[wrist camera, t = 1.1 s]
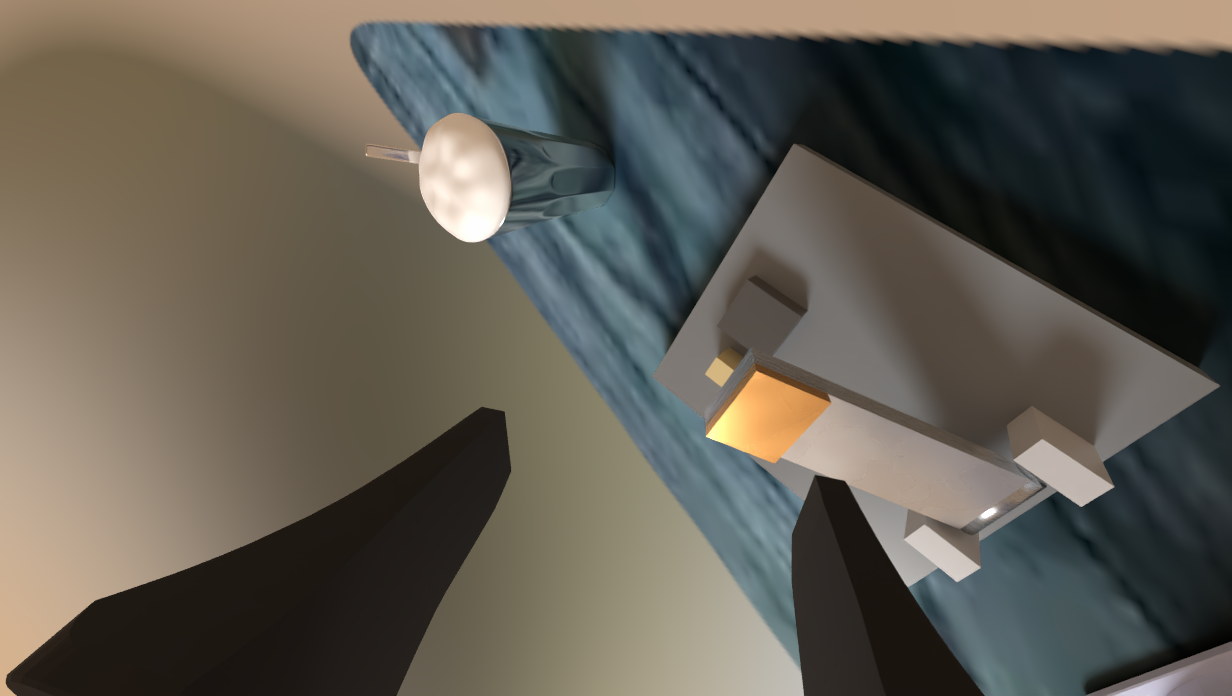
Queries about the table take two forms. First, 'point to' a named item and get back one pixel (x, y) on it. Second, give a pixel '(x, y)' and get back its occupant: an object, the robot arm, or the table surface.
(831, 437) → the latch bar
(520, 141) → the milkshake
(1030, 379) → the base board
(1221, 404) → the table surface
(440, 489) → the robot arm
